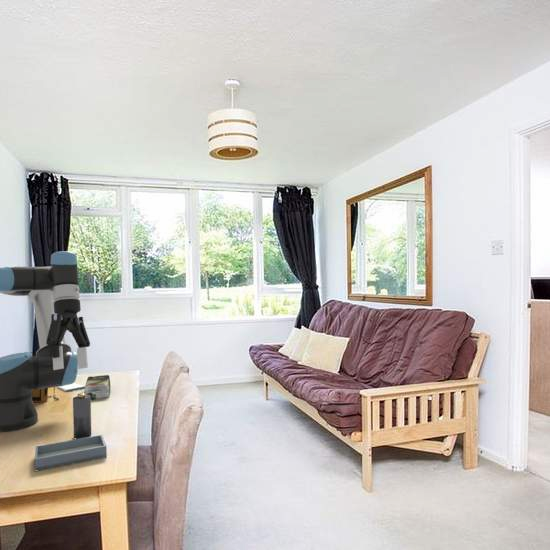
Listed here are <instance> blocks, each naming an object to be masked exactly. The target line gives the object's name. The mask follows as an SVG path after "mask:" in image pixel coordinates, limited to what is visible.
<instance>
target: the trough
mask: <svg viewBox="0 0 550 550" xmlns="http://www.w3.org/2000/svg"><path fill="white" fill-rule="evenodd" d="M107 449H108V448H107V444H106V441H105V439H104V436H103V434H99V435H93V436H92V435H91V436H90V437H86V438H80V439H71V440H65V441H57V442H53V443H52V442H51V443H46V444H42V445H36V446H35V449H34V450H35V454H34V465H35V466H34V471H35V470H39V471H43V470H42V469H44V470H48V469H47V468H49V469H53V468H52V467H54V468H57V467H56V466H60V467H63V466H62V465H65V466H68V464H70V465H73V464H72V463H75V464H79V463H78V462H80V463H83V461H85V462H88V461H87V460H90V461H93V460H92V459H95V460H98V459H97V458H100V459H104V458H103V457H105V458H107V457H108V455H107Z"/></svg>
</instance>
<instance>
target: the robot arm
mask: <svg viewBox="0 0 550 550" xmlns="http://www.w3.org/2000/svg"><path fill="white" fill-rule="evenodd" d="M49 264H50V266H49V265H48V266H47V265H46V266H14V267H13V266H10V267H9V266H4V267H0V294H1V295H2V294H3V295H6V296H7V295H8V296H12V297H13V296H15V297H24V296H25V297H26V296H27V298H28V300H29V301H30V302H31V303H33V308H34V316H35V317H34V318H35V322H36V330H37V331H36V332H37V337H38V345H39V349H38V350H37V351H36V353H35V356H34V355H33V356H32V353H30V352H28V351H24V352H18V353H12V354H8V355H4V356H1V357H0V433H1V432H9V431H10V430H11V431H15V429H16V430H21V429H23V428H24V429H25V428H27V427H29V426H32V425H34V424H36V423H37V422H38V420H39V413H38V411H37V408H36V405H35V404H34V403H35V402H33V401H32V390H38V389H45V388H48V389H51V388H54V387H55V388H56V387H58V386H64V385H69V384H72V383H74V382H75V383H76V380H77V377H78V371H79V369H81V370H82V369H87V368H88V367H89V366H88V355H87V354H88V353H87V352H88V351H87V348H88V347H90V346H91V342H90V339H89V335H88V333H87V330H86V326H85V323H84V317H83V316H78V313H80V312H81V310H82V309H81V300H79V299H80V297H81V296H80V290H81V289H80V284H79V270H78V264H79V263H78V259H77V255H76V253H75V252H73V251H70V250H69V251H67V250H65V251H64V250H62V251H56V252H55V251H54V252H53V253H52V254H51V255H50V263H49ZM67 331H68V333H71V335H72V338H73V339H74V341H75V343H76V344H77V347H78V348H77V349H76V351H74V350H73V351H72V348H71V346H70V345H69V344H68V343H66V339H65V335H66V333H67ZM20 428H21V429H20ZM11 431H10V432H11Z"/></svg>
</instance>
